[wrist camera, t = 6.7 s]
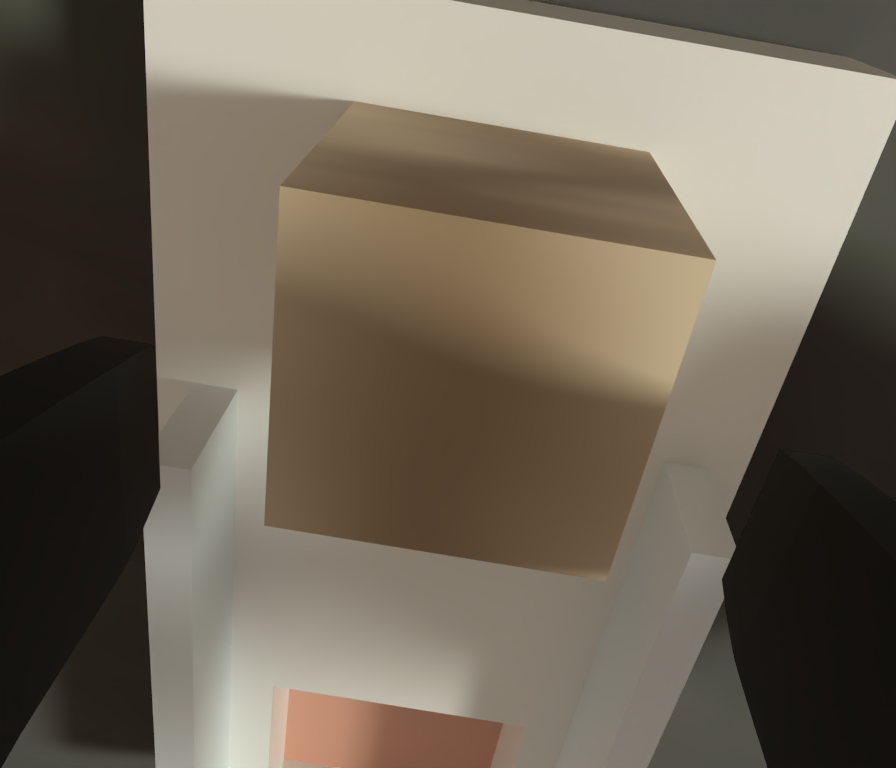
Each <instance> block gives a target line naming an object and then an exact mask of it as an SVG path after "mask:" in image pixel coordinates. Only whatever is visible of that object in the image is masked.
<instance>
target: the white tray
mask: <svg viewBox="0 0 896 768" xmlns="http://www.w3.org/2000/svg"><path fill="white" fill-rule="evenodd" d="M143 5H144V33H145V61H146V89H147V116H148V144H149V172H150V200H151V227H152V255H153V283H154V311H155V339H156V366H157V394H158V422H159V462H160V491H159V493H158V495H157V498H156V500H155V502H154V505H153V507H152V509H151V512H150V514H149V516H148V519H147V521H146V523H145V526H144V528H143V530H144V550H145V569H146V588H147V608H148V627H149V646H150V666H151V685H152V704H153V724H154V743H155V762H156V768H647V767H648V764H649V762H650V760H651V758H652V756H653V753H654V751H655V749H656V747H657V745H658V742H659V740H660V738H661V736H662V734H663V731H664V729H665V727H666V725H667V723H668V721H669V718H670V716H671V714H672V712H673V710H674V707H675V705H676V703H677V701H678V699H679V696H680V694H681V692H682V690H683V688H684V685H685V683H686V681H687V679H688V677H689V674H690V672H691V670H692V668H693V666H694V663H695V661H696V659H697V657H698V655H699V653H700V650H701V648H702V646H703V644H704V642H705V639H706V637H707V635H708V633H709V631H710V628H711V626H712V624H713V622H714V620H715V617H716V615H717V613H718V611H719V609H720V606H721V604H722V602H723V600H724V592H723V586H722V577H723V575H724V573H725V571H726V568H727V566H728V564H729V562H730V559H731V557H732V555H733V553H734V551H735V548H736V545H735V542H734V540H733V537H732V534H731V531H730V529H729V526H728V523H727V520H726V516H727V514H728V511H729V509H730V507H731V504H732V502H733V500H734V497H735V495H736V493H737V490H738V488H739V485H740V483H741V481H742V478H743V476H744V474H745V471H746V469H747V467H748V464H749V462H750V460H751V457H752V455H753V453H754V450H755V448H756V446H757V443H758V441H759V439H760V436H761V434H762V432H763V429H764V427H765V425H766V422H767V420H768V418H769V415H770V413H771V411H772V408H773V406H774V403H775V401H776V399H777V396H778V394H779V392H780V389H781V387H782V385H783V382H784V380H785V378H786V375H787V373H788V371H789V368H790V366H791V364H792V361H793V359H794V357H795V354H796V352H797V350H798V347H799V345H800V343H801V340H802V338H803V336H804V333H805V331H806V329H807V326H808V324H809V322H810V319H811V317H812V314H813V312H814V310H815V307H816V305H817V303H818V300H819V298H820V296H821V293H822V291H823V289H824V286H825V284H826V282H827V279H828V277H829V275H830V272H831V270H832V268H833V265H834V263H835V261H836V258H837V256H838V254H839V251H840V249H841V247H842V244H843V242H844V240H845V237H846V235H847V233H848V230H849V228H850V225H851V223H852V221H853V218H854V216H855V214H856V211H857V209H858V207H859V204H860V202H861V200H862V197H863V195H864V193H865V190H866V188H867V186H868V183H869V181H870V179H871V176H872V174H873V172H874V169H875V167H876V165H877V162H878V160H879V158H880V155H881V153H882V151H883V148H884V146H885V143H886V141H887V139H888V136H889V134H890V132H891V129H892V127H893V125H894V122H895V120H896V76H895V75H893V74H890V73H888V72H885V71H882V70H880V69H877V68H875V67H872V66H869V65H867V64H864V63H862V62H859V61H856V60H854V59H851V58H849V57H845V56H839V55H834V54H828V53H822V52H817V51H811V50H805V49H800V48H794V47H789V46H783V45H777V44H772V43H766V42H760V41H755V40H749V39H744V38H738V37H732V36H727V35H721V34H715V33H710V32H704V31H698V30H693V29H687V28H682V27H676V26H670V25H665V24H659V23H653V22H648V21H642V20H636V19H631V18H625V17H620V16H614V15H608V14H603V13H597V12H591V11H586V10H580V9H575V8H569V7H563V6H558V5H552V4H546V3H541V2H535V1H529V0H143ZM355 101H356V102H362V103H368V104H374V105H380V106H385V107H391V108H397V109H403V110H409V111H414V112H420V113H426V114H432V115H437V116H443V117H449V118H455V119H461V120H466V121H472V122H478V123H484V124H490V125H495V126H501V127H507V128H513V129H519V130H524V131H530V132H536V133H542V134H548V135H553V136H559V137H565V138H571V139H576V140H582V141H588V142H594V143H600V144H605V145H611V146H617V147H623V148H629V149H634V150H640V151H646V152H650V154H651V155H652V157H653V159H654V160H655V162H656V163H657V165H658V167H659V168H660V170H661V171H662V173H663V175H664V176H665V178H666V180H667V181H668V183H669V184H670V186H671V188H672V189H673V191H674V192H675V194H676V196H677V197H678V199H679V200H680V202H681V204H682V205H683V207H684V209H685V210H686V212H687V213H688V215H689V217H690V218H691V220H692V221H693V223H694V225H695V226H696V228H697V230H698V231H699V233H700V234H701V236H702V238H703V239H704V241H705V242H706V244H707V246H708V247H709V249H710V251H711V252H712V254H713V255H714V257H715V259H716V263H715V266H714V269H713V272H712V275H711V278H710V281H709V284H708V287H707V289H706V292H705V295H704V298H703V301H702V304H701V307H700V310H699V313H698V316H697V318H696V321H695V324H694V327H693V330H692V333H691V336H690V339H689V342H688V345H687V348H686V350H685V353H684V356H683V359H682V362H681V365H680V368H679V371H678V374H677V377H676V379H675V382H674V385H673V388H672V391H671V394H670V397H669V400H668V403H667V406H666V409H665V411H664V414H663V417H662V420H661V423H660V426H659V429H658V432H657V435H656V438H655V440H654V443H653V446H652V449H651V452H650V455H649V458H648V461H647V464H646V467H645V469H644V472H643V475H642V478H641V481H640V484H639V487H638V490H637V493H636V496H635V499H634V501H633V504H632V507H631V510H630V513H629V516H628V519H627V522H626V525H625V528H624V530H623V533H622V536H621V539H620V542H619V545H618V548H617V551H616V554H615V557H614V559H613V562H612V565H611V568H610V571H609V574H608V577H607V580H606V581H601V580H595V579H589V578H583V577H577V576H571V575H564V574H558V573H552V572H546V571H540V570H534V569H528V568H521V567H515V566H509V565H503V564H497V563H491V562H484V561H478V560H472V559H466V558H460V557H454V556H448V555H441V554H435V553H429V552H423V551H417V550H411V549H405V548H398V547H392V546H386V545H380V544H374V543H368V542H362V541H355V540H349V539H343V538H337V537H331V536H325V535H319V534H312V533H306V532H300V531H294V530H288V529H282V528H275V527H269V526H264V517H265V496H266V474H267V452H268V431H269V409H270V387H271V365H272V344H273V322H274V300H275V279H276V257H277V235H278V214H279V192H280V185H281V184H282V183H283V182H284V180H285V179H286V178H287V177H288V176H289V175H290V174H291V173H292V171H293V170H294V169H295V168H296V167H297V166H298V165H299V164H300V162H301V161H302V160H303V159H304V158H305V157H306V156H307V155H308V153H309V152H310V151H311V150H312V149H313V148H314V147H315V146H316V144H317V143H318V142H319V141H320V140H321V139H322V138H323V137H324V135H325V134H326V133H327V132H328V131H329V130H330V129H331V128H332V126H333V125H334V124H335V123H336V122H337V121H338V120H339V119H340V117H341V116H342V115H343V114H344V113H345V112H346V111H347V109H348V108H349V107H350V106H351V105H352V104H353V103H354V102H355Z"/></svg>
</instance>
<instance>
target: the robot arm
mask: <svg viewBox="0 0 896 768" xmlns="http://www.w3.org/2000/svg"><path fill="white" fill-rule="evenodd" d="M159 491H160V462H159V434H158V407H157V380H156V353H155V345H152V344H146V343H140V342H134V341H128V340H122V339H116V338H110V337H104V336H101V337H97V338H94V339H91V340H88V341H85V342H82V343H79V344H76V345H74V346H71V347H69V348H66V349H64V350H61V351H59V352H56V353H54V354H51V355H49V356H46V357H44V358H42V359H39V360H37V361H34V362H32V363H30V364H27V365H25V366H23V367H20V368H18V369H16V370H13V371H11V372H8V373H6V374H4V375H1V376H0V768H1V767H2V765H3V764H4V762H5V760H6V758H7V757H8V755H9V753H10V751H11V750H12V748H13V746H14V745H15V743H16V741H17V739H18V738H19V736H20V734H21V733H22V731H23V729H24V728H25V726H26V725H27V723H28V721H29V720H30V718H31V717H32V715H33V713H34V712H35V710H36V709H37V707H38V705H39V704H40V702H41V701H42V699H43V697H44V696H45V694H46V693H47V691H48V690H49V688H50V686H51V685H52V683H53V682H54V680H55V678H56V677H57V675H58V674H59V672H60V670H61V669H62V667H63V666H64V664H65V662H66V661H67V659H68V658H69V656H70V654H71V653H72V651H73V650H74V648H75V647H76V645H77V643H78V642H79V640H80V639H81V637H82V635H83V634H84V632H85V631H86V629H87V627H88V626H89V624H90V623H91V621H92V619H93V618H94V616H95V615H96V613H97V611H98V610H99V608H100V607H101V605H102V603H103V602H104V600H105V598H106V597H107V595H108V594H109V592H110V590H111V589H112V587H113V585H114V584H115V582H116V581H117V579H118V577H119V576H120V574H121V572H122V571H123V569H124V567H125V566H126V564H127V562H128V560H129V558H130V556H131V554H132V552H133V550H134V547H135V545H136V543H137V541H138V539H139V537H140V534H141V532H142V530H143V528H144V526H145V523H146V521H147V519H148V516H149V514H150V512H151V509H152V507H153V505H154V502H155V500H156V498H157V495H158V493H159ZM722 586H723V592H724V599H725V606H726V613H727V620H728V626H729V632H730V637H731V643H732V649H733V654H734V659H735V663H736V666H737V670H738V673H739V677H740V680H741V683H742V687H743V690H744V693H745V696H746V700H747V703H748V706H749V710H750V713H751V716H752V719H753V723H754V726H755V729H756V732H757V735H758V739H759V742H760V745H761V748H762V751H763V754H764V758H765V761H766V764H767V767H768V768H896V502H895V501H893V500H892V499H891V498H889V497H888V496H887V495H885V494H884V493H883V492H881V491H880V490H879V489H878V488H876V487H875V486H874V485H872V484H871V483H870V482H868V481H867V480H865V479H864V478H863V477H861V476H860V475H859V474H857V473H856V472H854V471H853V470H851V469H850V468H848V467H847V466H845V465H844V464H842V463H841V462H839V461H837V460H836V459H834V458H832V457H827V456H821V455H815V454H809V453H803V452H797V451H791V450H785V449H780V450H779V452H778V454H777V456H776V459H775V461H774V463H773V465H772V468H771V470H770V472H769V474H768V477H767V479H766V481H765V483H764V486H763V488H762V490H761V492H760V495H759V497H758V499H757V501H756V503H755V506H754V508H753V510H752V512H751V515H750V517H749V519H748V521H747V524H746V526H745V528H744V530H743V533H742V535H741V537H740V539H739V542H738V544H737V546H736V548H735V551H734V553H733V555H732V557H731V559H730V562H729V564H728V566H727V568H726V571H725V573H724V575H723V577H722Z"/></svg>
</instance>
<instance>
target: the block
mask: <svg viewBox="0 0 896 768" xmlns="http://www.w3.org/2000/svg"><path fill="white" fill-rule="evenodd" d="M715 263H716V259H715V257H714V255H713V254H712V252H711V251H710V249H709V247H708V246H707V244H706V242H705V241H704V239H703V238H702V236H701V234H700V233H699V231H698V230H697V228H696V226H695V225H694V223H693V221H692V220H691V218H690V217H689V215H688V213H687V212H686V210H685V209H684V207H683V205H682V204H681V202H680V200H679V199H678V197H677V196H676V194H675V192H674V191H673V189H672V188H671V186H670V184H669V183H668V181H667V180H666V178H665V176H664V175H663V173H662V171H661V170H660V168H659V167H658V165H657V163H656V162H655V160H654V159H653V157H652V155H651V154H650V152H646V151H640V150H634V149H629V148H623V147H617V146H611V145H605V144H600V143H594V142H588V141H582V140H576V139H571V138H565V137H559V136H553V135H548V134H542V133H536V132H530V131H524V130H519V129H513V128H507V127H501V126H495V125H490V124H484V123H478V122H472V121H466V120H461V119H455V118H449V117H443V116H437V115H432V114H426V113H420V112H414V111H409V110H403V109H397V108H391V107H385V106H380V105H374V104H368V103H362V102H356V101H355V102H354V103H353V104H352V105H351V106H350V107H349V108H348V109H347V111H346V112H345V113H344V114H343V115H342V116H341V117H340V119H339V120H338V121H337V122H336V123H335V124H334V125H333V126H332V128H331V129H330V130H329V131H328V132H327V133H326V134H325V135H324V137H323V138H322V139H321V140H320V141H319V142H318V143H317V144H316V146H315V147H314V148H313V149H312V150H311V151H310V152H309V153H308V155H307V156H306V157H305V158H304V159H303V160H302V161H301V162H300V164H299V165H298V166H297V167H296V168H295V169H294V170H293V171H292V173H291V174H290V175H289V176H288V177H287V178H286V179H285V180H284V182H283V183H282V184H281V185H280V192H279V214H278V235H277V257H276V279H275V300H274V322H273V344H272V365H271V387H270V409H269V431H268V452H267V474H266V496H265V517H264V526H269V527H275V528H282V529H288V530H294V531H300V532H306V533H312V534H319V535H325V536H331V537H337V538H343V539H349V540H355V541H362V542H368V543H374V544H380V545H386V546H392V547H398V548H405V549H411V550H417V551H423V552H429V553H435V554H441V555H448V556H454V557H460V558H466V559H472V560H478V561H484V562H491V563H497V564H503V565H509V566H515V567H521V568H528V569H534V570H540V571H546V572H552V573H558V574H564V575H571V576H577V577H583V578H589V579H595V580H601V581H606V580H607V577H608V574H609V571H610V568H611V565H612V562H613V559H614V557H615V554H616V551H617V548H618V545H619V542H620V539H621V536H622V533H623V530H624V528H625V525H626V522H627V519H628V516H629V513H630V510H631V507H632V504H633V501H634V499H635V496H636V493H637V490H638V487H639V484H640V481H641V478H642V475H643V472H644V469H645V467H646V464H647V461H648V458H649V455H650V452H651V449H652V446H653V443H654V440H655V438H656V435H657V432H658V429H659V426H660V423H661V420H662V417H663V414H664V411H665V409H666V406H667V403H668V400H669V397H670V394H671V391H672V388H673V385H674V382H675V379H676V377H677V374H678V371H679V368H680V365H681V362H682V359H683V356H684V353H685V350H686V348H687V345H688V342H689V339H690V336H691V333H692V330H693V327H694V324H695V321H696V318H697V316H698V313H699V310H700V307H701V304H702V301H703V298H704V295H705V292H706V289H707V287H708V284H709V281H710V278H711V275H712V272H713V269H714V266H715Z"/></svg>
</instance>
